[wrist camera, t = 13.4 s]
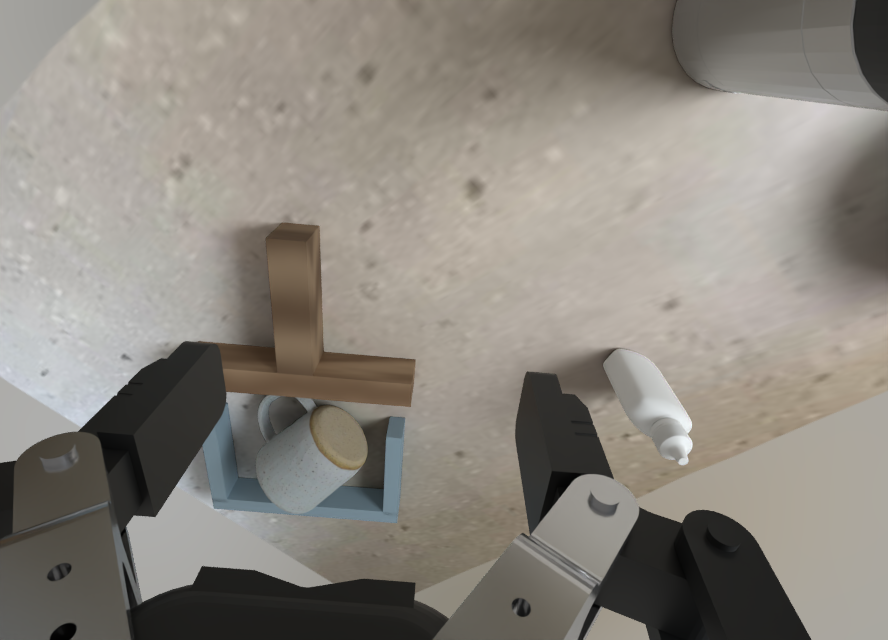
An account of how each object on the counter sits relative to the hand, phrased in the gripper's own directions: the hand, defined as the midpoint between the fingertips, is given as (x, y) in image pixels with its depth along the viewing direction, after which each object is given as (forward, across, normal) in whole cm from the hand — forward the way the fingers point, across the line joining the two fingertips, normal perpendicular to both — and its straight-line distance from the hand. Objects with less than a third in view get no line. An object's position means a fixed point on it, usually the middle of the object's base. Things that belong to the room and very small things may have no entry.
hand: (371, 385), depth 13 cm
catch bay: (+28, +10, +30) cm, 42 cm away
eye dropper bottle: (+28, -20, +16) cm, 38 cm away
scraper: (+28, +10, +12) cm, 32 cm away
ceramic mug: (+28, +10, +26) cm, 40 cm away
